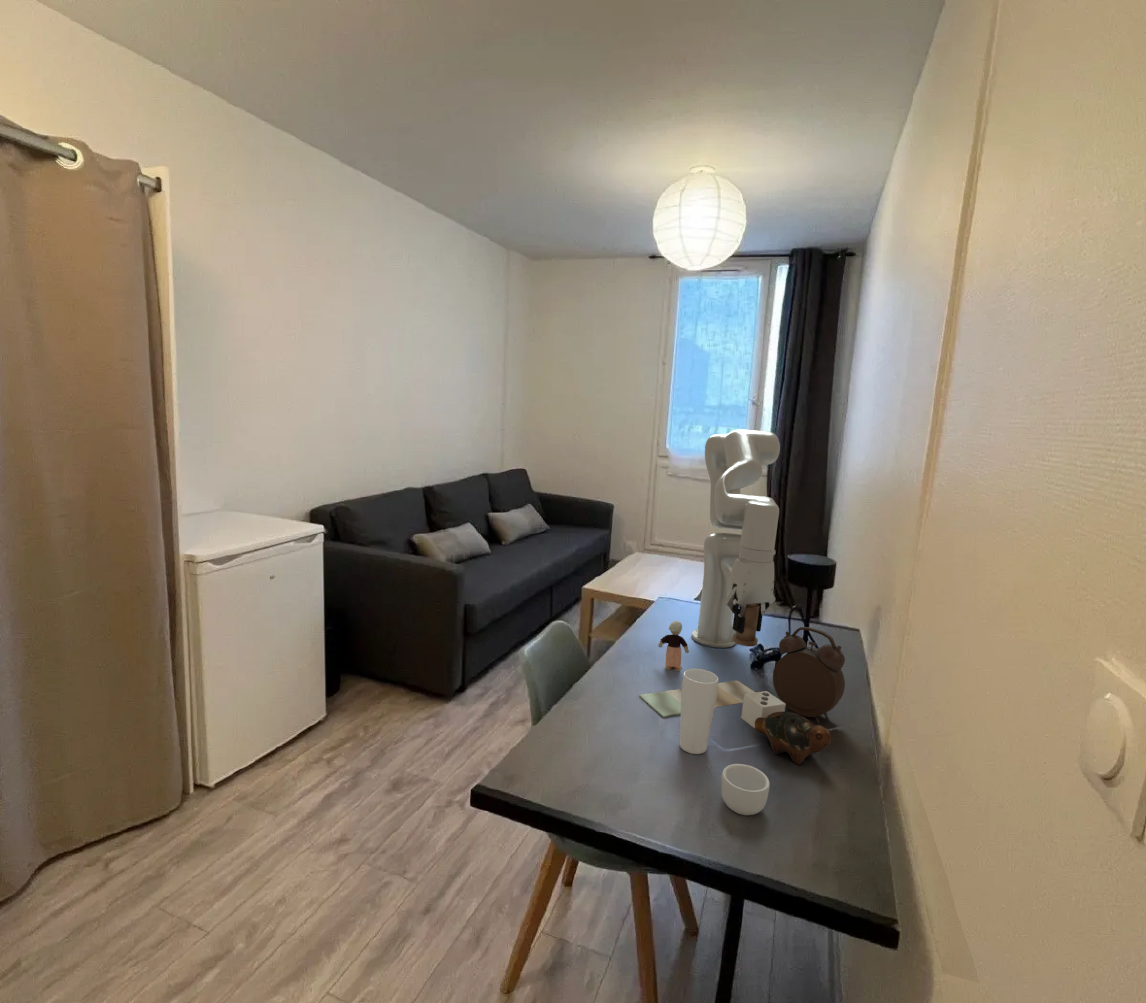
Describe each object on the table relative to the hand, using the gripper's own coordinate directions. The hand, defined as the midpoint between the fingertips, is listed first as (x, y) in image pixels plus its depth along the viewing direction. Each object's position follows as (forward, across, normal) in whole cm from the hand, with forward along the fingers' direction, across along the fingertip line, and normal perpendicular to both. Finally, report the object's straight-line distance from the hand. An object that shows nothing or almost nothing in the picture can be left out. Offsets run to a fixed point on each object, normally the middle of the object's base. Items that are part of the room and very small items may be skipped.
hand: (746, 629), depth 145 cm
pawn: (+3, 0, 0) cm, 3 cm away
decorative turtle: (+15, +8, +25) cm, 30 cm away
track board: (+15, +11, 0) cm, 19 cm away
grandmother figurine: (+16, +9, -16) cm, 24 cm away
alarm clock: (+16, -7, +14) cm, 22 cm away
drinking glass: (+15, +26, +18) cm, 35 cm away
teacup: (+15, +28, +34) cm, 47 cm away
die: (+15, +6, +14) cm, 22 cm away
